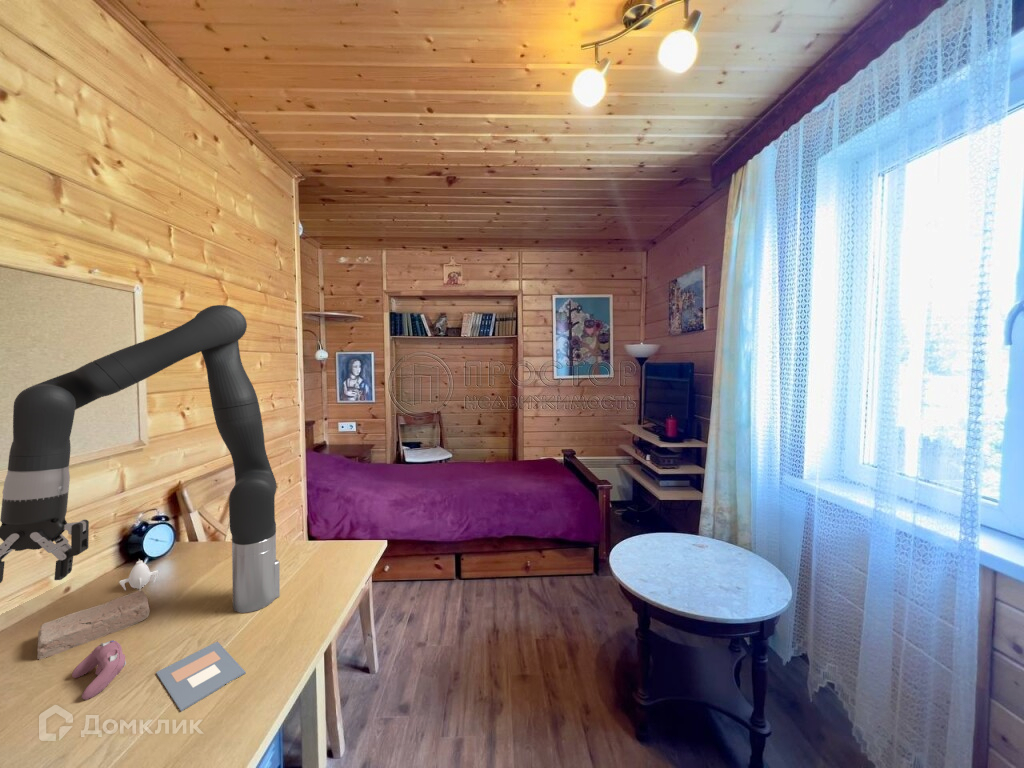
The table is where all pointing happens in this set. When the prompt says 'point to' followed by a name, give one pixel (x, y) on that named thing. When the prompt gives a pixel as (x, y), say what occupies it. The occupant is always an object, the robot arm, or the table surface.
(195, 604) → the table surface
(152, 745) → the table surface
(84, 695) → the video game controller
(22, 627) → the table surface
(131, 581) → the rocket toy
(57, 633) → the brick
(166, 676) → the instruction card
